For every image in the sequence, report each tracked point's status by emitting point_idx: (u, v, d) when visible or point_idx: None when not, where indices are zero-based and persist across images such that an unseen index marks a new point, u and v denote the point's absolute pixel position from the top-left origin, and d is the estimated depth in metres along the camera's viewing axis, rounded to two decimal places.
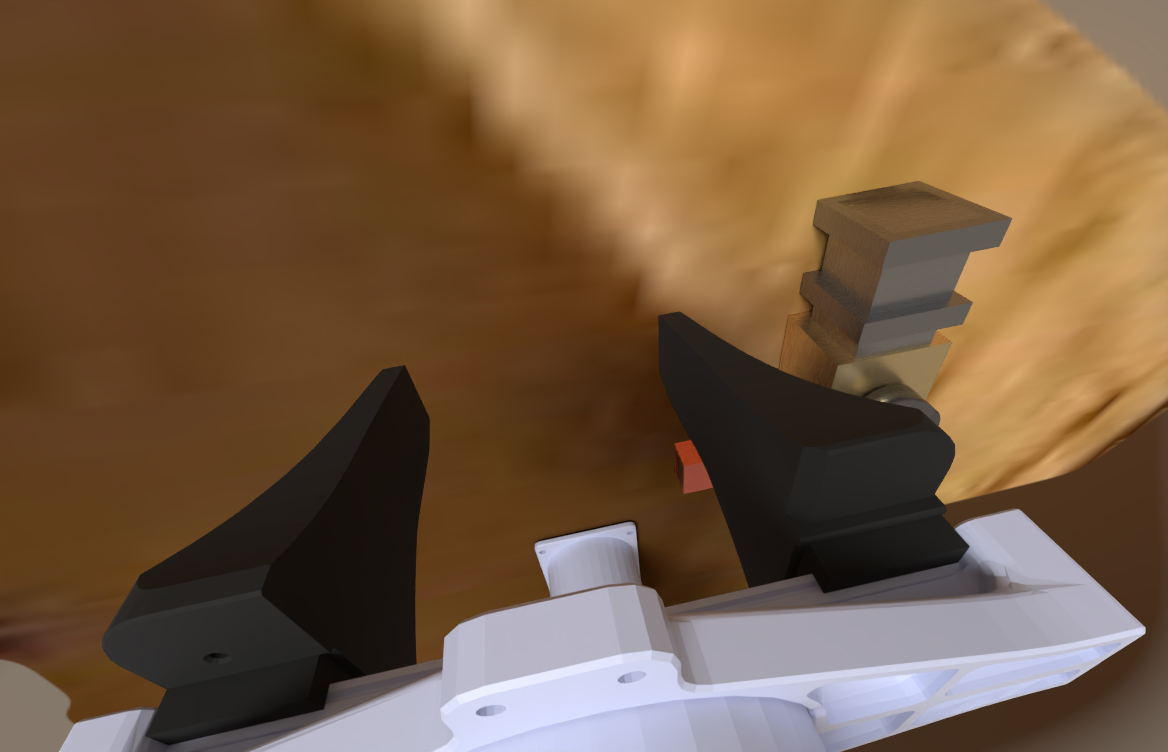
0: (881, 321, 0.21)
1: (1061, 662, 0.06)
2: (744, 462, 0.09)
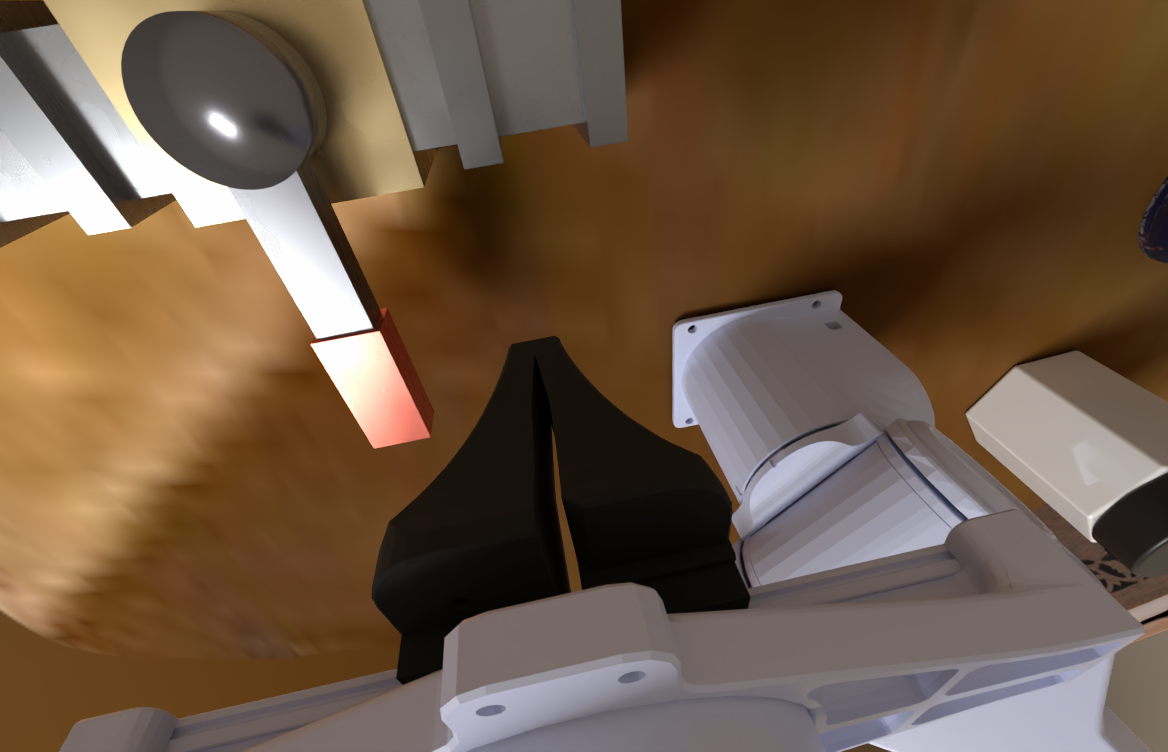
0: (66, 207, 0.13)
1: (1061, 662, 0.06)
2: None
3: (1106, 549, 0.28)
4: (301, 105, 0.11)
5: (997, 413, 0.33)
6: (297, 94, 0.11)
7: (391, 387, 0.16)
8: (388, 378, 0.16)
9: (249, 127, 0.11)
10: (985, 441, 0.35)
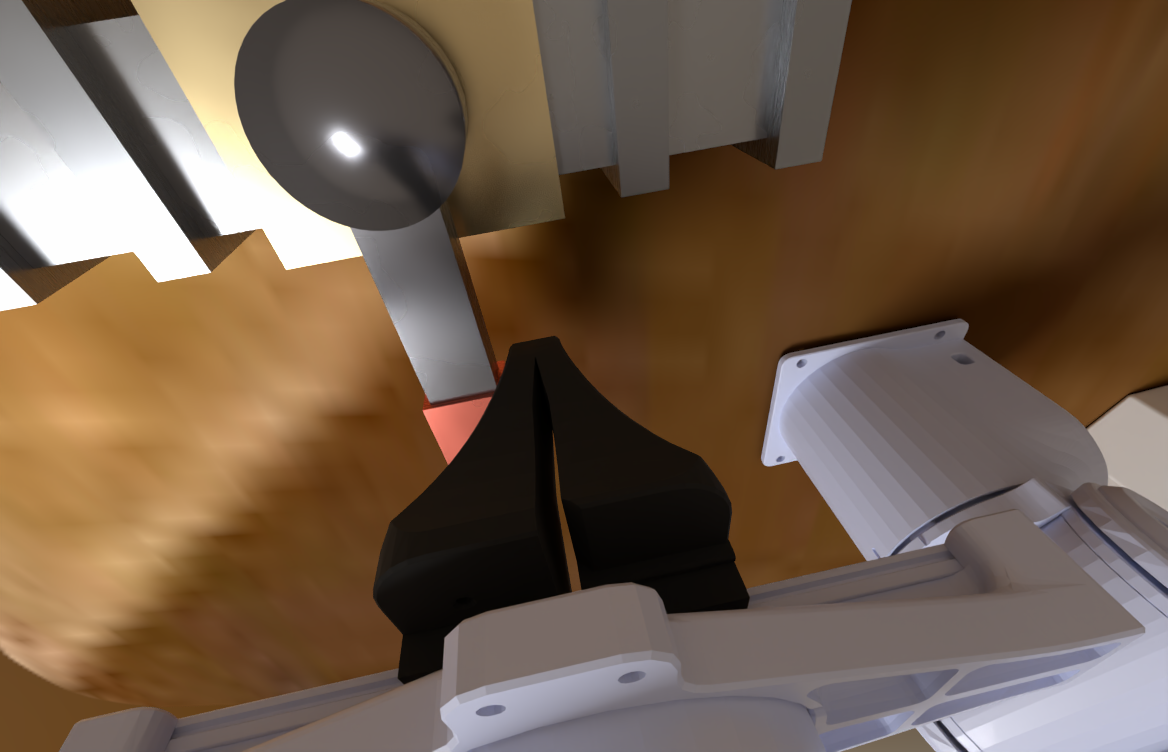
0: (133, 248, 0.10)
1: (1061, 662, 0.06)
2: None
3: None
4: (461, 122, 0.08)
5: (1108, 446, 0.30)
6: (459, 108, 0.08)
7: None
8: None
9: (391, 151, 0.08)
10: None
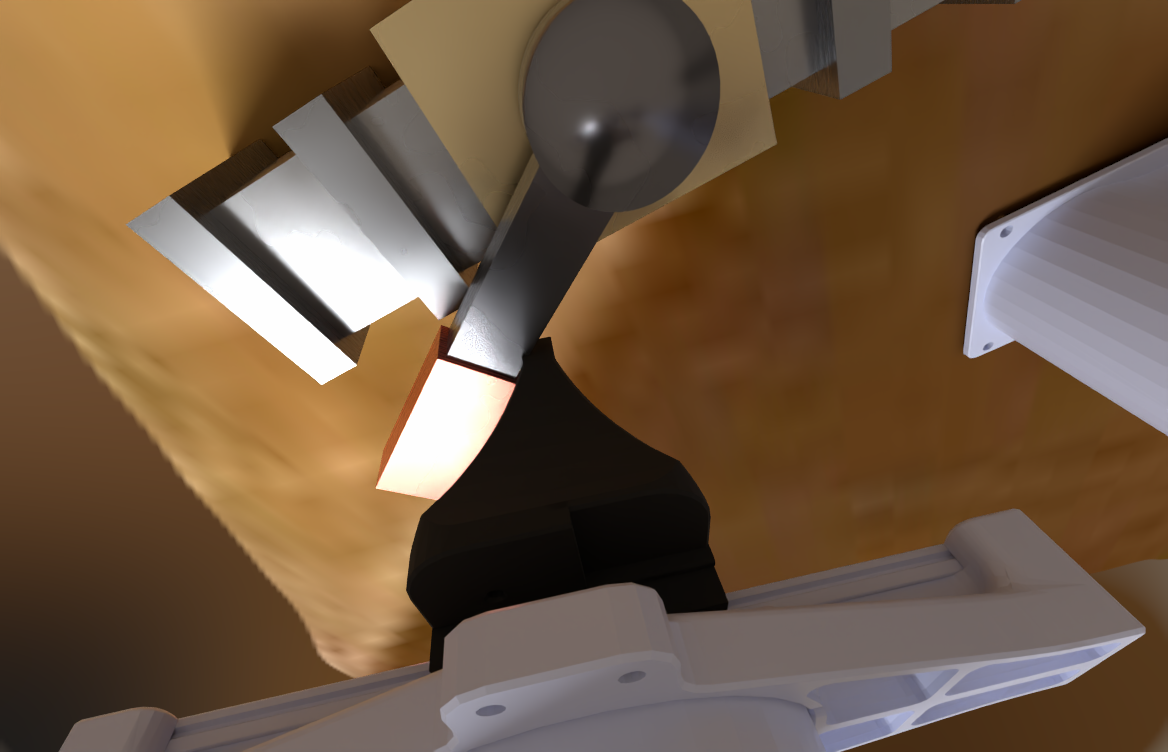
0: (420, 296, 0.12)
1: (1061, 662, 0.06)
2: None
3: None
4: (691, 170, 0.09)
5: None
6: (699, 160, 0.09)
7: (468, 440, 0.13)
8: (476, 430, 0.13)
9: (630, 148, 0.09)
10: None
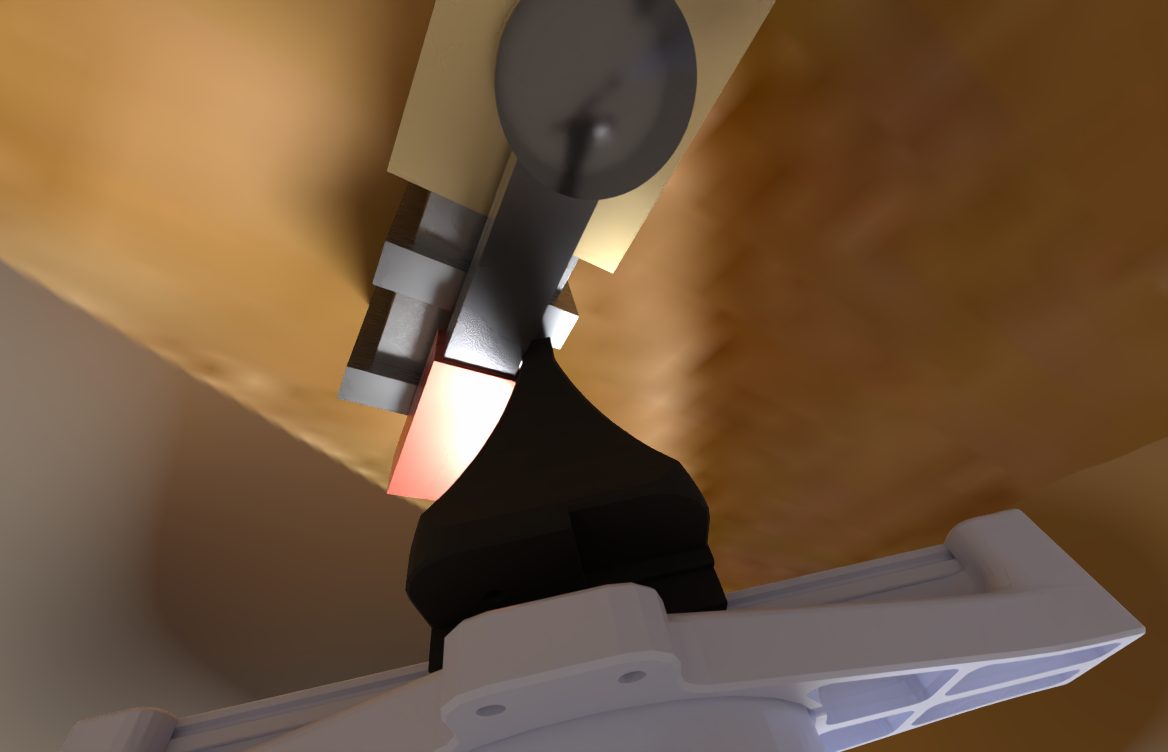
0: (535, 339, 0.13)
1: (1061, 662, 0.06)
2: None
3: None
4: (673, 150, 0.09)
5: None
6: None
7: (473, 441, 0.13)
8: (480, 431, 0.13)
9: (607, 132, 0.09)
10: None
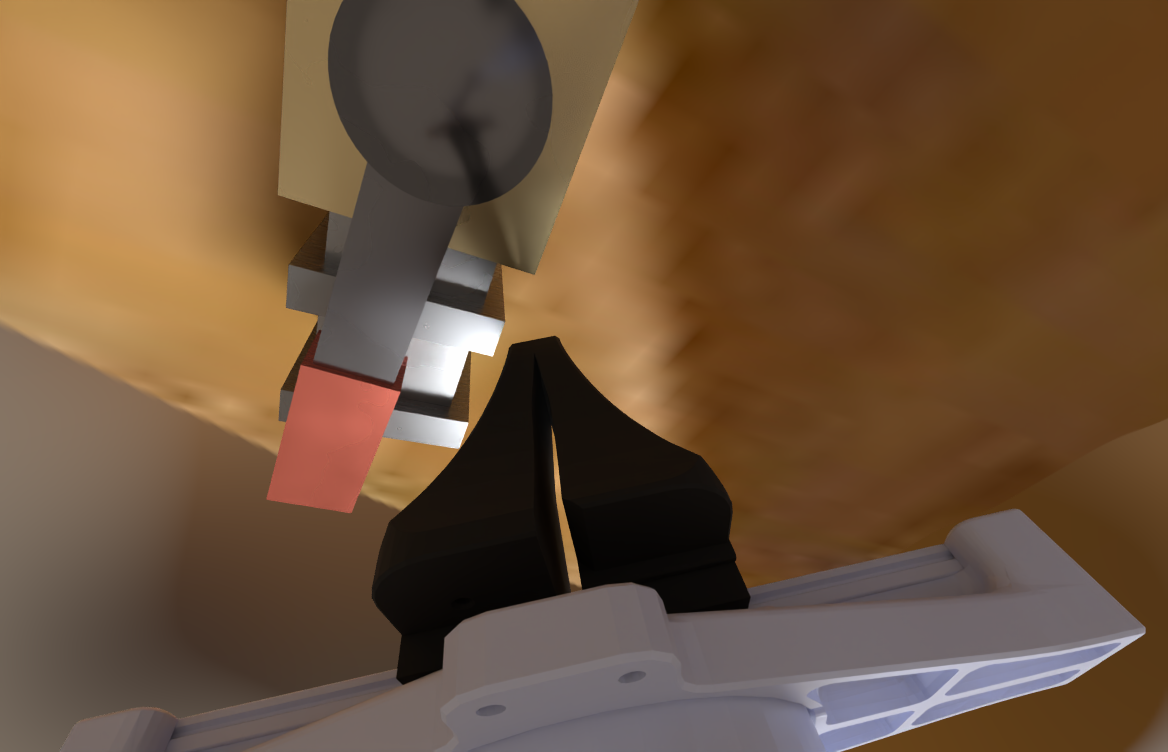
0: (464, 348, 0.13)
1: (1061, 662, 0.06)
2: None
3: None
4: (536, 159, 0.09)
5: None
6: None
7: (356, 449, 0.12)
8: (361, 439, 0.12)
9: (461, 136, 0.08)
10: None
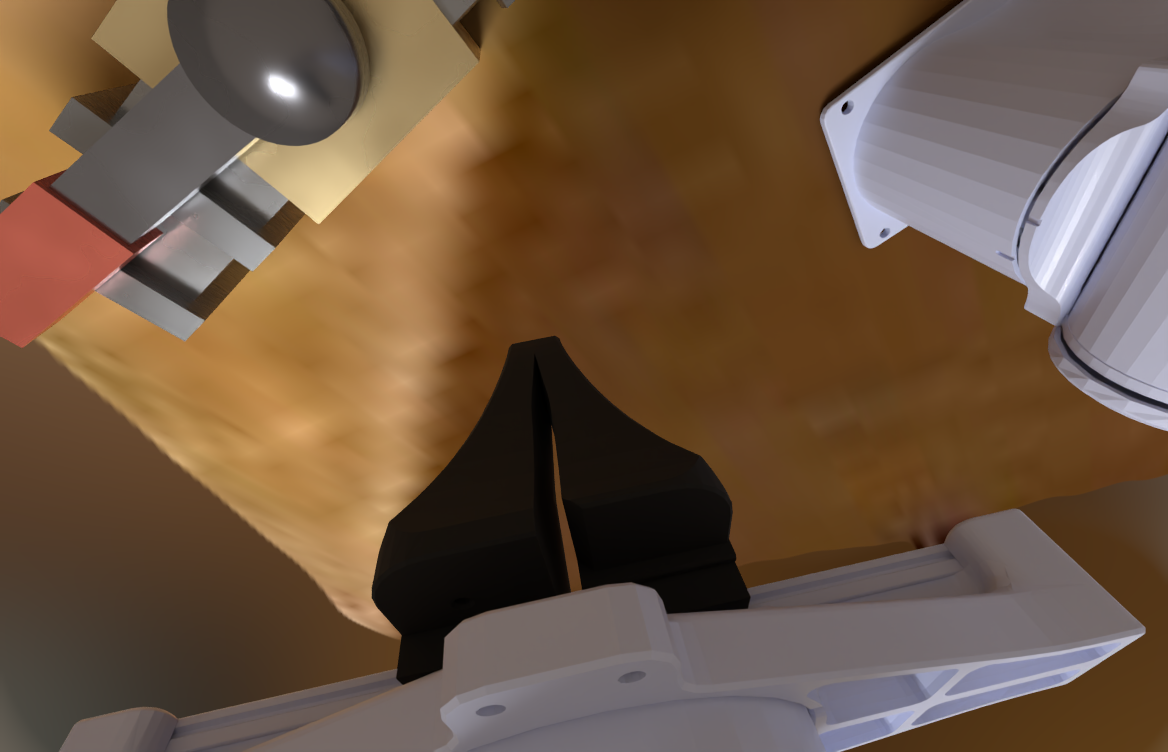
0: (226, 252, 0.14)
1: (1061, 662, 0.06)
2: None
3: None
4: (327, 136, 0.11)
5: None
6: (334, 132, 0.11)
7: (59, 286, 0.13)
8: (70, 279, 0.13)
9: (270, 88, 0.11)
10: None
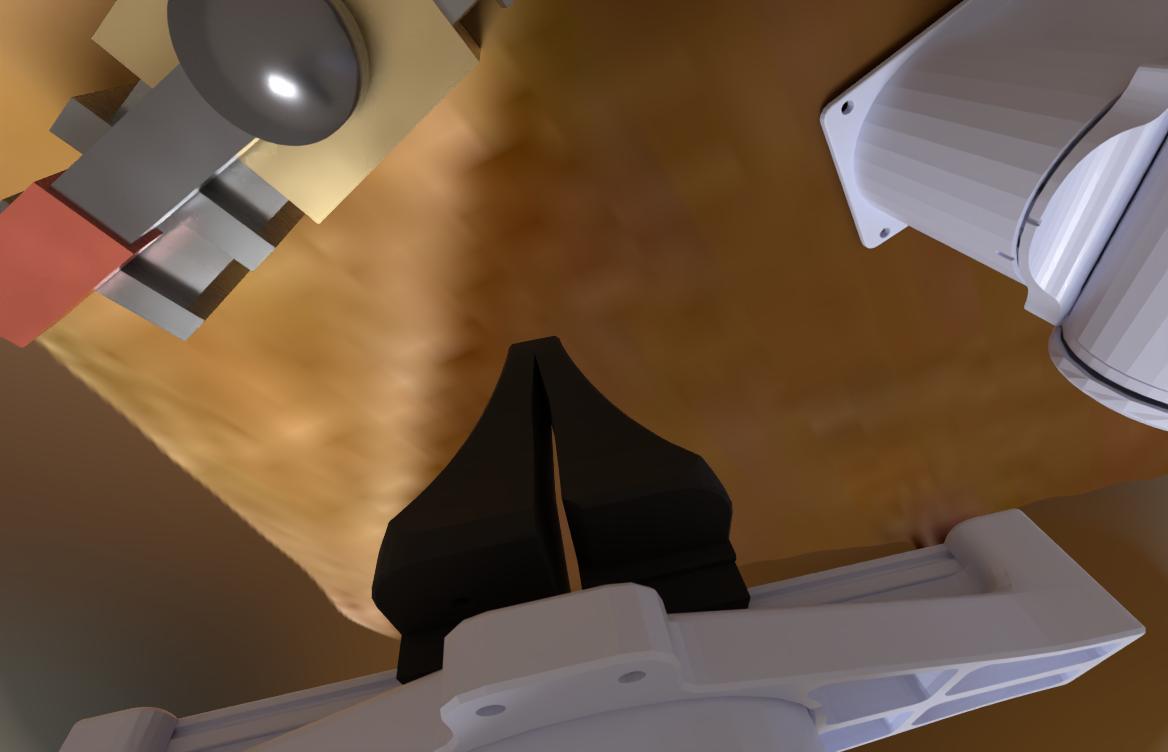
0: (226, 252, 0.14)
1: (1061, 662, 0.06)
2: None
3: None
4: (327, 136, 0.11)
5: None
6: (334, 132, 0.11)
7: (59, 286, 0.13)
8: (70, 279, 0.13)
9: (270, 88, 0.11)
10: None
